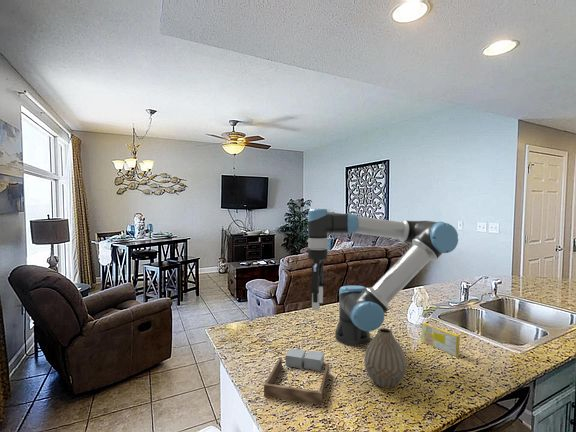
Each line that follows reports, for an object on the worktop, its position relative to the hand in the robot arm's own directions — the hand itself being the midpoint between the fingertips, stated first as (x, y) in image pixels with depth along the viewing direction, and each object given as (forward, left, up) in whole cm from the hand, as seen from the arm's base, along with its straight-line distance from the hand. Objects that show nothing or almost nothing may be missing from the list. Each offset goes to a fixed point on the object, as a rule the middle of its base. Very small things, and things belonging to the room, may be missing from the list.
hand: (317, 306), depth 121 cm
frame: (+3, +21, -19) cm, 29 cm away
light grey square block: (0, +8, -20) cm, 21 cm away
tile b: (+7, +8, -20) cm, 22 cm away
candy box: (-47, -18, -20) cm, 55 cm away
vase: (-24, +13, -20) cm, 34 cm away
